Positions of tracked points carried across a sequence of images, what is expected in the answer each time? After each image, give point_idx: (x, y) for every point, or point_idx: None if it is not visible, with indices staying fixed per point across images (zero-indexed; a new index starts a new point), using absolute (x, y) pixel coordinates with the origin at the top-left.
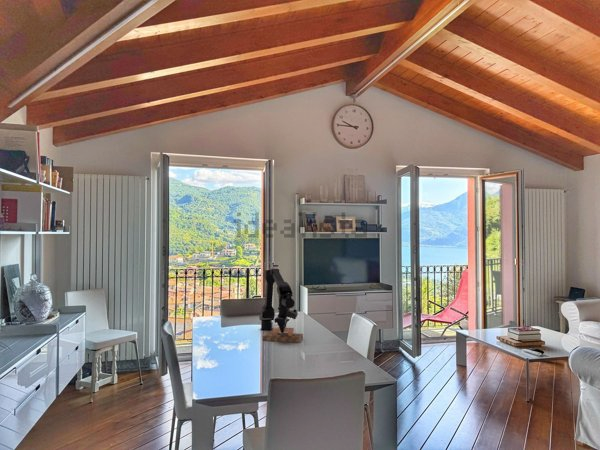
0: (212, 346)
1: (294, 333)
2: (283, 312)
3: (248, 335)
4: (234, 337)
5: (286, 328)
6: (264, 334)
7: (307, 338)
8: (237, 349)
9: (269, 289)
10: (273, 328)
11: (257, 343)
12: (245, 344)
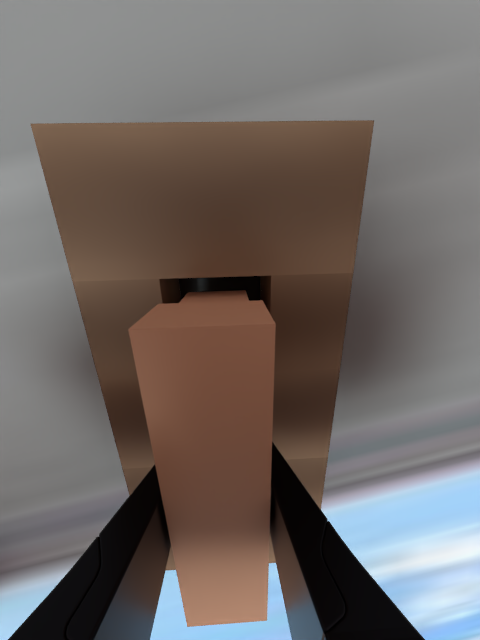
0: (446, 634)
1: (90, 296)
2: None
3: (167, 601)
4: (244, 630)
5: (237, 466)
6: (270, 559)
7: (11, 92)
8: None
9: None
10: (265, 605)
11: (373, 509)
12: (403, 551)
